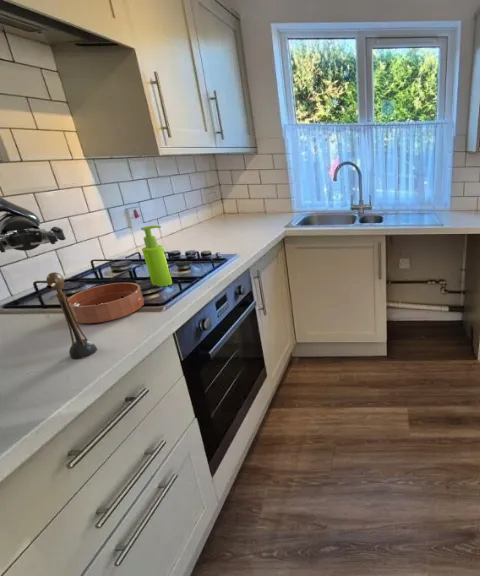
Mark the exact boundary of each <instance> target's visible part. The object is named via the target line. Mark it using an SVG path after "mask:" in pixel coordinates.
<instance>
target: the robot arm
mask: <svg viewBox="0 0 480 576" xmlns="http://www.w3.org/2000/svg"><path fill="white" fill-rule="evenodd" d="M0 213H3V214H2V215H0V253H6V250H7V251H8V250H15V251H21V252H22V251H23V252H27V251H31V250H35V249H37V248H38V247H39V246H41V245H46V244H49V243H50V244H51V245H56V242H59V241H65V240H66V239H67V238H66V236H65V234H64V230H63V229H62V228H60V227H59V226H53V227H51V228H50V230H46V229H44V228H40V225H41V220H40V217H39V216H38V215H37V214H36V213H34V212H33V211H31V210H29V209H27V208H26V207H25V208H24V207H22V206H20V205H18V204H15V203H13V202H11V201H9V200H7V199H5V198H3V197H2V196H0Z"/></svg>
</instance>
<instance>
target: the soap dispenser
mask: <svg viewBox="0 0 480 576" xmlns="http://www.w3.org/2000/svg"><path fill="white" fill-rule="evenodd" d="M161 228H162V226H161V225H156V224H155V225H147V226H146V225H145V226H143V227H140V230H141V231H143V232H144V234H145V236H144V237H143V242H144V245H145V247H143V248H142V249H141V251H142V256H143V258H144V262H145V265H146V269H147V272H148V274H149V278H150V282H151V285H152V284H153V285H157V286H166V287H169V286H171V285H172V284H173V280H172V276H171V273H170V268H169V265H168V261H167V258H166V254H165V250H164V247H163V245H162V244H161V245H160V244H158V241H157V237H156V236H155V235H153V233H152V229H161ZM153 285H152V286H153ZM168 285H169V286H168Z"/></svg>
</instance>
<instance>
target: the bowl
mask: <svg viewBox="0 0 480 576" xmlns="http://www.w3.org/2000/svg"><path fill="white" fill-rule="evenodd" d="M121 296H123V297H124V298H121ZM67 300H68V302H69V305H70V307H71V310H72V312H73V314H74V317H75V319H76V321H77V323H78V324H98V323H105V322H110V321H113V320H118V319H121V318H123V317H126V316H129V315H131V314H132V313H134V312H136V311H138V310H140V309H141V308H142V307H143V306H144V305H145V298H144V295H143V291H142V288H141V285H139V284H138V283H135V282H114V283H108V284H101V285H97V286H94V287H90V288H87V289H84V290H81V291H79V292H77V293H74V294H72V295H71V296H69V297H67ZM66 303H67V302H66ZM101 303H103V304H101ZM96 304H98V305H96ZM68 308H69V307H68ZM70 313H71V312H70ZM72 318H73V317H72ZM73 320H74V319H73Z"/></svg>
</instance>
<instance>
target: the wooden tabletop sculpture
mask: <svg viewBox="0 0 480 576" xmlns="http://www.w3.org/2000/svg"><path fill="white" fill-rule="evenodd" d="M45 281H46V284H47V285H46V286H45V289H47V290H49V291H50V290H52V291H56V294H55V296H56V298H57V300H58V303H59V305H60V308H61V310H62V312H63V316H64V317H65V320H66V324H67V327H68V330H69V334H70V338H71V346H70V347H69V351H68V352H69V356H70V358H71V359H73V360H80V359H84V358H87V357H90V356H92V355H94V354H95V353H96V352H97V350H98V349H97V346H96V345H95V343H94V342H92V341H90V340H89V339H88V338H87V336H86V334H84V332H83V331H82V328H81V327H80V325H79V323H78V322H77V321H76V319H75V317H74V314H73V312H72V310H71V307H70V305H69V302H68V300H67V299H68V297H67V294H66V292H63V290H62V289H63V288H64V287H65V278H64V276H63V275H62V274H61V273H59V272H57V271H53V272H49V273H48V275H47V276H46V280H45ZM66 302H67V303H66ZM68 307H69V308H68ZM70 312H71V313H70ZM72 317H73V318H72ZM73 319H74V320H73ZM81 335H82V336H81ZM82 337H83V338H82ZM74 338H75V339H74Z"/></svg>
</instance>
